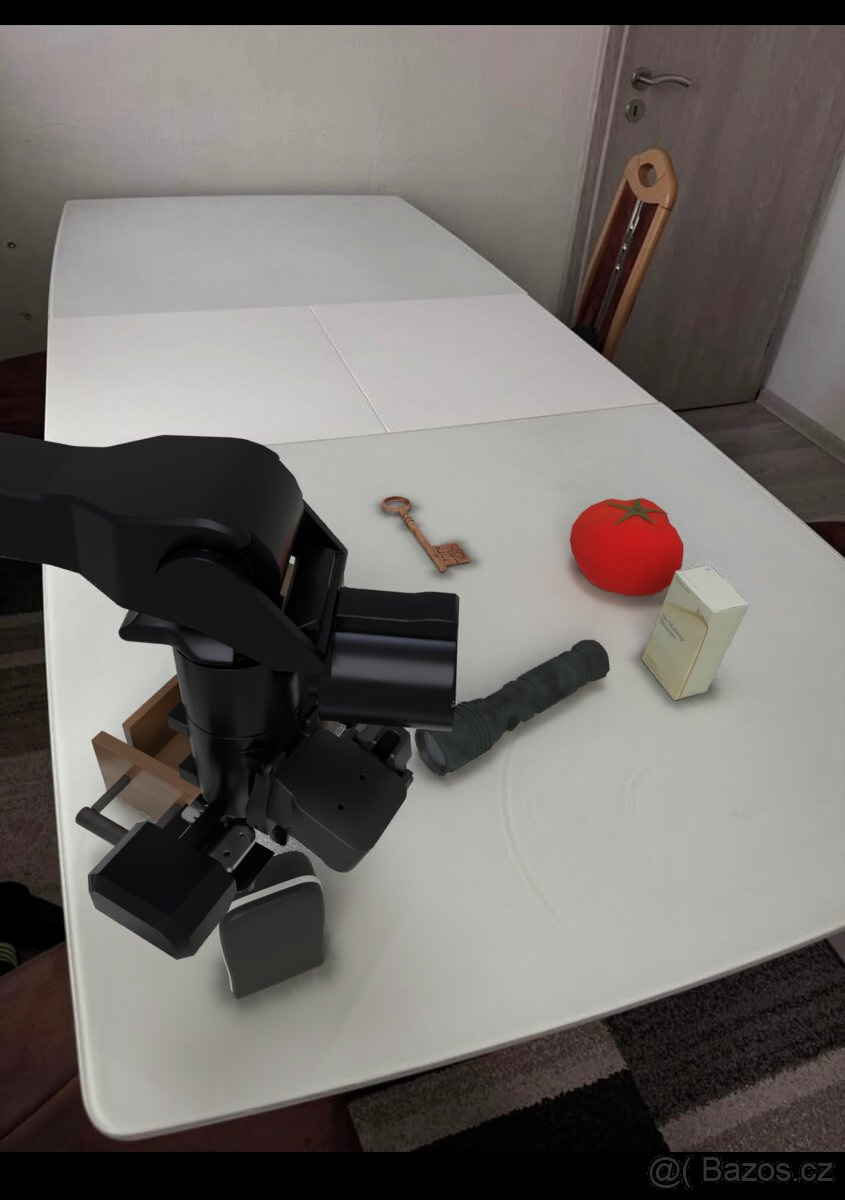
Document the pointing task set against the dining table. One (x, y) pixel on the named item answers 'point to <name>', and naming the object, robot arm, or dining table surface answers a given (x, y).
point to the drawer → (142, 767)
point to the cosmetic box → (694, 630)
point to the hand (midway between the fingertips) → (263, 862)
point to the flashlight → (510, 707)
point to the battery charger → (274, 926)
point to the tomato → (627, 546)
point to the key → (430, 549)
